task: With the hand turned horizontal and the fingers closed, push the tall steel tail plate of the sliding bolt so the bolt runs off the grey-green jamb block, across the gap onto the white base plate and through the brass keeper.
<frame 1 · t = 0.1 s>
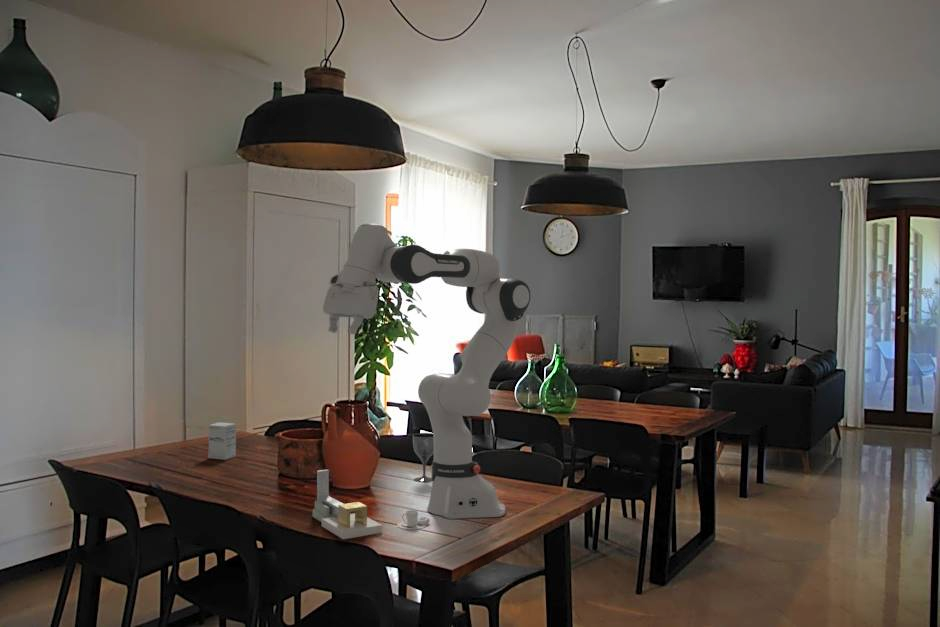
hand: (341, 332, 205), 52 cm above the table, tool tilted 20°, fingers open, 8 cm apart
white base plate: (351, 525, 210), on the table
jamb: (334, 520, 218), on the table
wine glass: (424, 480, 267), on the table
supplement box: (222, 458, 298), on the table
bolt: (333, 493, 218), point 7 cm above the table, slide at 0.0 cm
teacup and saucer: (421, 529, 213), on the table
keeper: (352, 514, 208), on the white base plate, point 4 cm above the table
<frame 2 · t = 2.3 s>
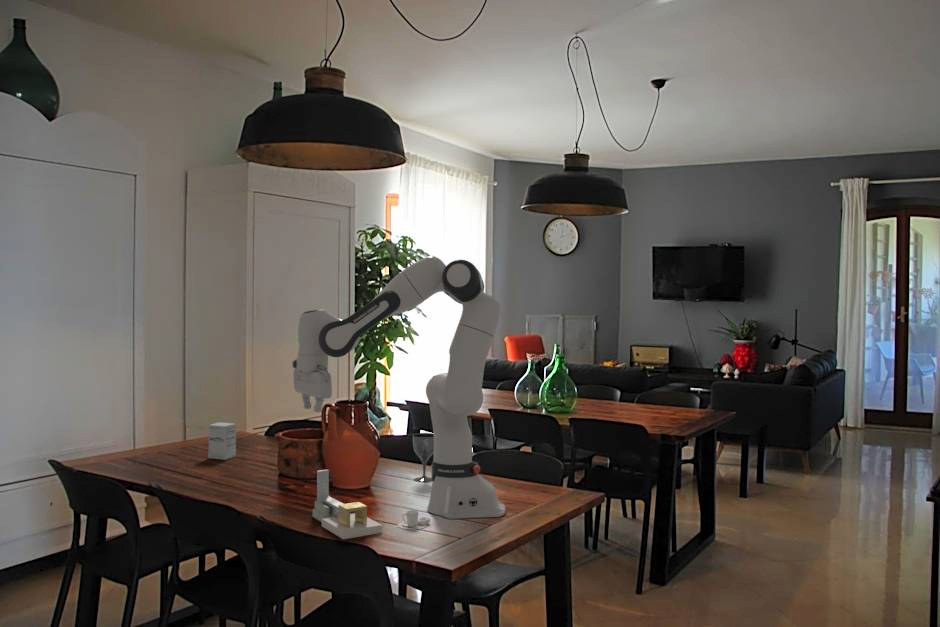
hand: (312, 410, 237), 27 cm above the table, tool pointing down, fingers open, 6 cm apart
nothing on the table moved.
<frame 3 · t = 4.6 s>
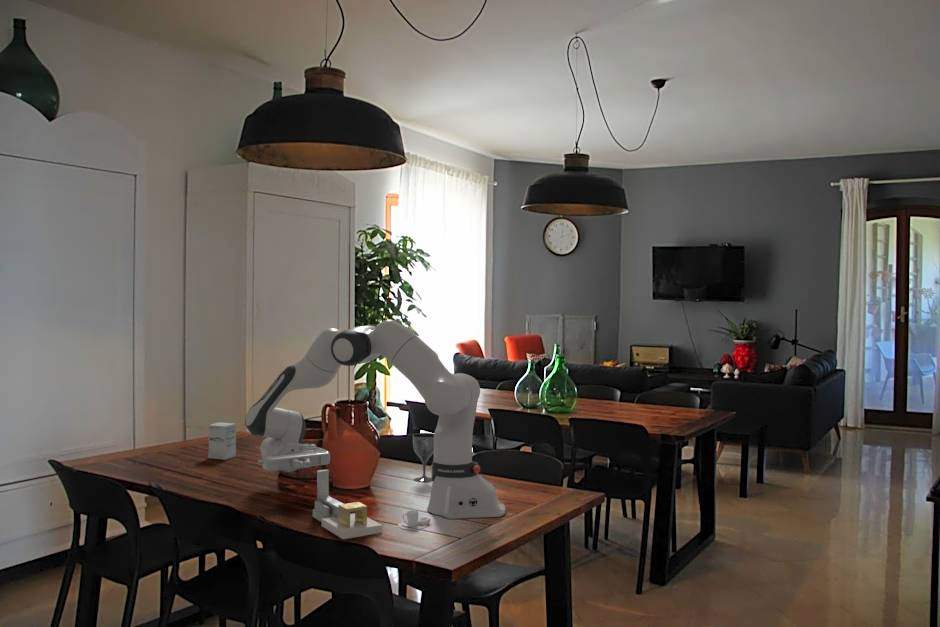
hand: (306, 465, 234), 11 cm above the table, tool horizontal, fingers closed
nothing on the table moved.
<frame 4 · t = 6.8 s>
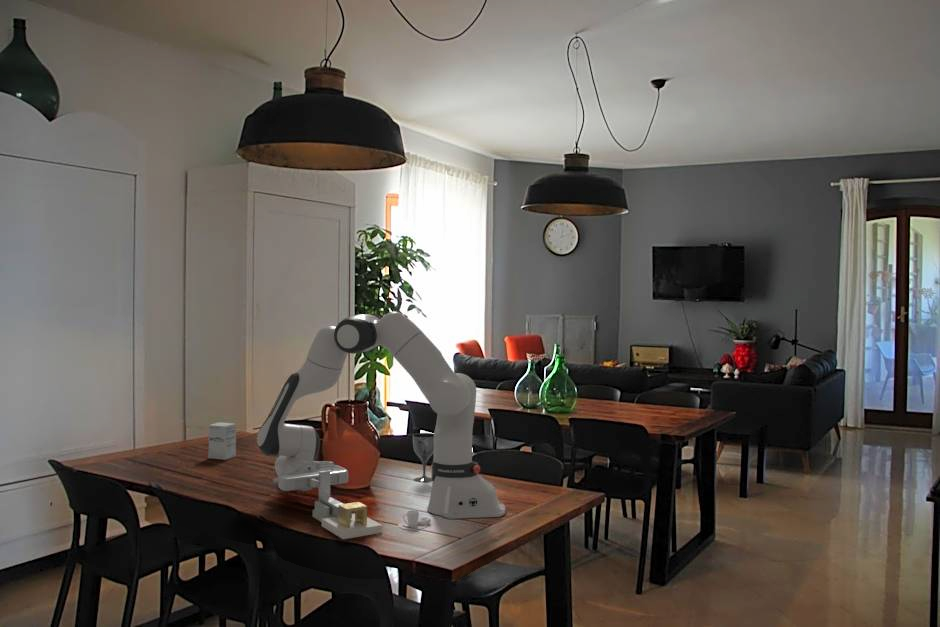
hand: (324, 484, 224), 8 cm above the table, tool horizontal, fingers closed, pressing on bolt
bolt: (335, 494, 217), point 7 cm above the table, slide at 1.1 cm, touching gripper
everything else where it was.
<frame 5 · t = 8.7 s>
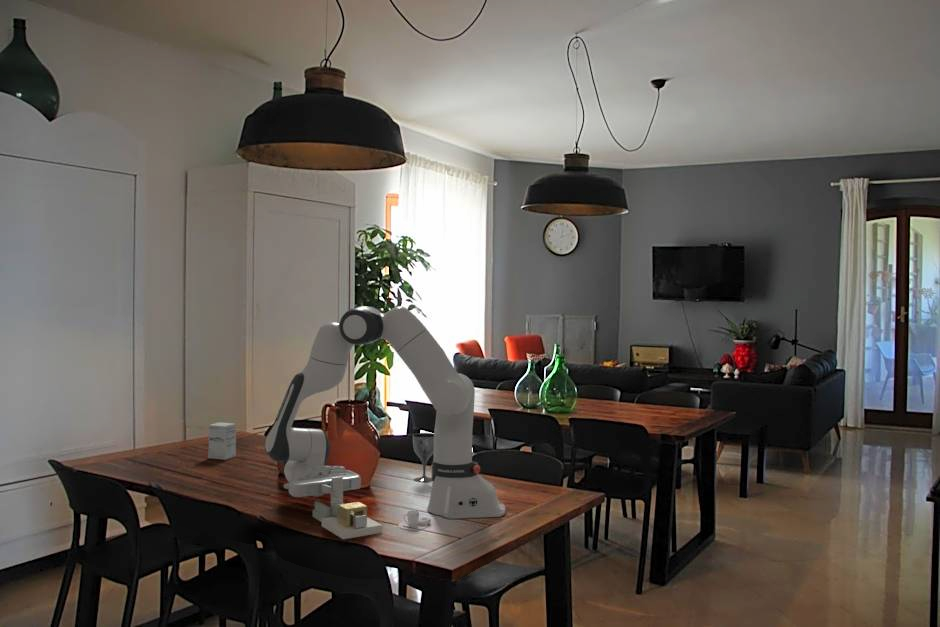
hand: (336, 490, 217), 8 cm above the table, tool horizontal, fingers closed, pressing on bolt
bolt: (348, 501, 210), point 7 cm above the table, slide at 9.4 cm, touching gripper
everything else where it was.
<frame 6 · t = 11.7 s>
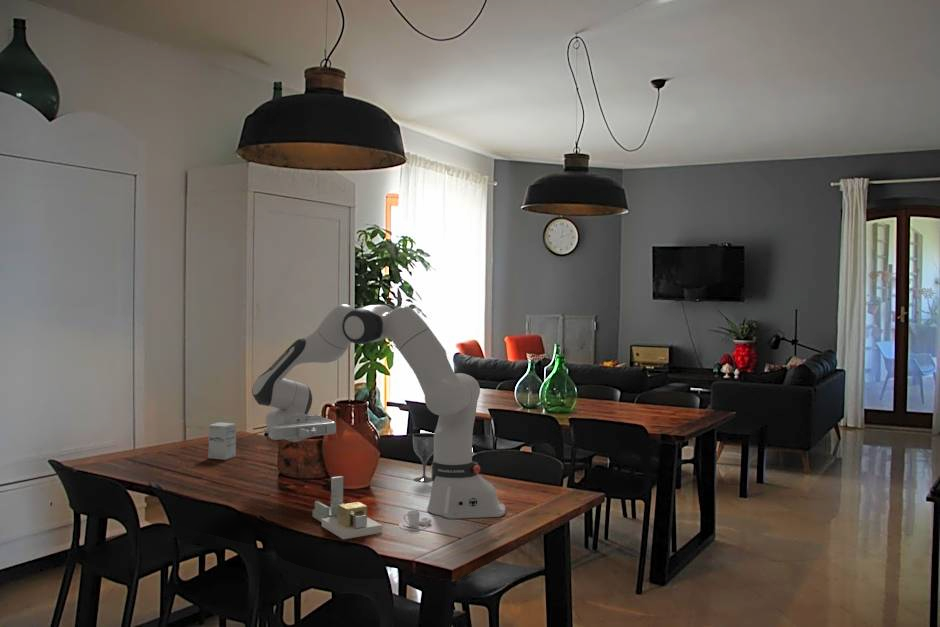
hand: (312, 433, 234), 21 cm above the table, tool horizontal, fingers closed
bolt: (348, 501, 210), point 7 cm above the table, slide at 9.4 cm
everything else where it was.
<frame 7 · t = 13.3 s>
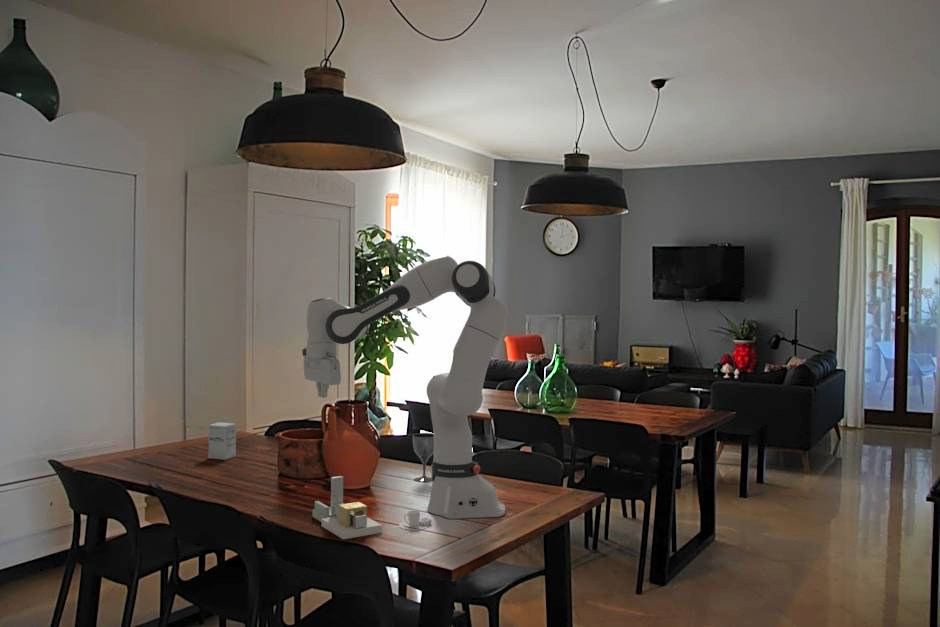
hand: (322, 397, 242), 31 cm above the table, tool pointing down, fingers closed
nothing on the table moved.
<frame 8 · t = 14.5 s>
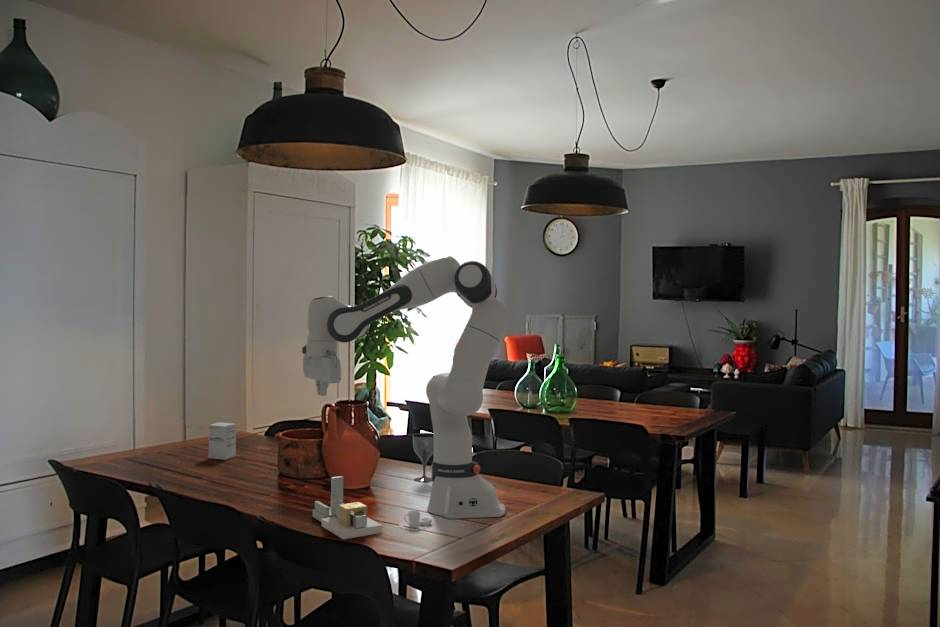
hand: (321, 395, 241), 31 cm above the table, tool pointing down, fingers closed
nothing on the table moved.
at the end: bolt slide at 9.4 cm; bolt 2.1 cm from the keeper (horizontally) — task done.
